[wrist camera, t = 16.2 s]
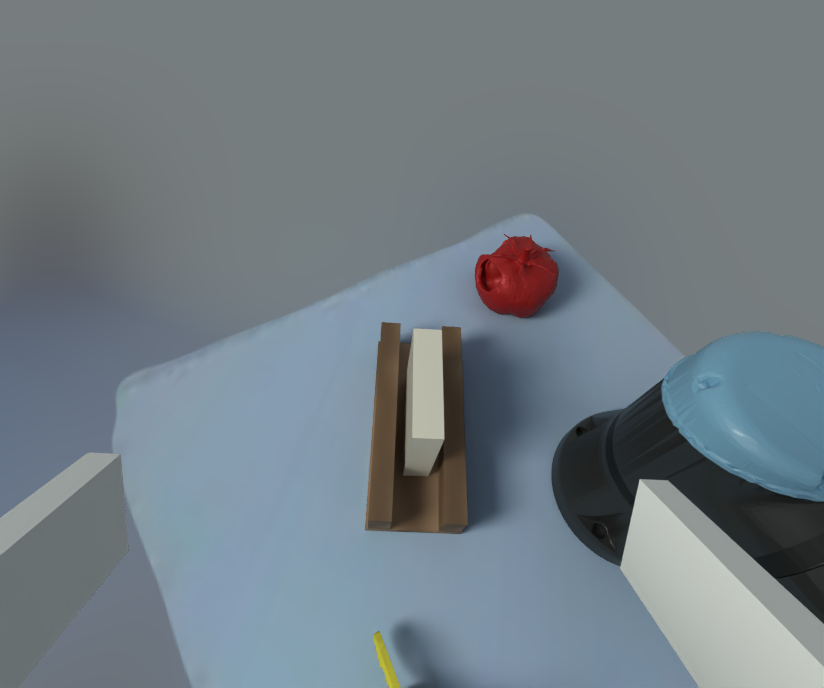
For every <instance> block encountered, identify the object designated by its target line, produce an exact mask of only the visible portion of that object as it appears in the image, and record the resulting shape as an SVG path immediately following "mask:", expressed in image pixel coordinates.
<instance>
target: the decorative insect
mask: <svg viewBox="0 0 824 688" xmlns="http://www.w3.org/2000/svg"><path fill="white" fill-rule="evenodd" d="M374 642H375V646H376V652H377V653H378V654H377V657H378V660H379V662H380V667H381V668H382V669H383V671H384V673H385V680H386V682H387V685H389V688H400V685H399V683H398V680H397V677H396V674H395V672H394V669H393V666H392V664H391V661H390V658H389V656H388V653H387V650H386V647H385V645H384V642H383V639H382V637H381V634H380V632H379V631H378V632H376V633H375V634H374Z"/></svg>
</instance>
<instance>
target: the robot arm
mask: <svg viewBox="0 0 824 688" xmlns="http://www.w3.org/2000/svg"><path fill="white" fill-rule="evenodd" d="M552 486H553V492H554V496H555V499H556V502H557V505H558V508H559V510H560V512H561V514H562V516H563V518H564V520H565V521H566V523H567V524H568V526H569V527H570V529H571V530H572V531H573V533H574V534H575V535H576V536H577V537H578V538H579V540H580V541H581V542H582V543H583V544H585V545H586V546H587V547H588V548H589V549H590V550H592V551H593V552H594V553H596V554H597V555H599V556H600V557H602V558H604V559H605V560H607V561H609V562H611V563H614V564H616V565H619V566H621V567H620V569H621V571H622V572H623V574H624V575H625V577H626V578H627V580H628V581H629V583H630V584H631V586H632V587H633V589H634V590H635V592H636V593H637V595H638V596H639V598H640V599H641V601H642V602H643V604H644V605H645V607H646V608H647V610H648V611H649V613H650V614H651V616H652V617H653V619H654V620H655V622H656V623H657V625H658V626H659V628H660V629H661V631H662V632H663V634H664V635H665V637H666V638H667V640H668V641H669V643H670V644H671V646H672V647H673V649H674V650H675V652H676V653H677V655H678V656H679V658H680V659H681V661H682V662H683V664H684V665H685V667H686V668H687V670H688V671H689V673H690V674H691V676H692V677H693V679H694V680H695V682H696V683H697V685H698V686H699V688H824V347H823V346H821V345H819V344H816V343H814V342H811V341H808V340H805V339H801V338H798V337H794V336H789V335H784V336H780V335H777V334H773V333H770V332H759V331H754V332H742V333H736V334H731V335H728V336H725V337H722V338H720V339H717V340H715V341H713V342H711V343H710V344H708V345H707V346H705V347H704V348H702V349H701V350H699V351H698V352H697V353H695V354H693V355H690V356H688V357H686V358H684V359H682V360H680V361H679V362H678V363H676V364H675V365H674V366H673V367H672V368H671V369H670V370H669V372H668V374H667V375H666V376H665V378H663V379H662V380H661V381H660V382H659V383H657V384H656V385H655V386H653V387H652V388H651V389H650V390H648V391H647V392H646V393H644V394H643V395H642V396H641V397H639V398H638V399H637V400H635V401H634V402H633V403H632V404H630V405H629V406H628V407H627V408H626V409H619V410H613V411H607V412H601V413H598V414H595V415H592V416H590V417H588V418H586V419H584V420H582V421H581V422H579V423H578V424H577V425H576V426H575V427H574V428H572V429H571V430H570V431H569V432H568V433H567V434H566V435H565V436H564V438H563V439H562V440H561V442H560V443H559V445H558V447H557V449H556V452H555V455H554V458H553V463H552ZM128 551H129V545H128V533H127V522H126V510H125V498H124V487H123V475H122V464H121V454H106V453H87V454H86V455H84V456H83V457H82V458H80V459H79V460H78V461H76V462H75V463H74V464H72V465H71V466H70V467H68V468H67V469H66V470H64V471H63V472H62V473H60V474H59V475H58V476H56V477H55V478H54V479H52V480H51V481H49V482H48V483H47V484H45V485H44V486H43V487H41V488H40V489H39V490H37V491H36V492H35V493H33V494H32V495H31V496H29V497H28V498H27V499H25V500H24V501H23V502H21V503H20V504H19V505H17V506H16V507H14V508H13V509H12V510H10V511H9V512H8V513H6V514H5V515H4V516H2V517H1V518H0V688H18V687H19V686H20V685H21V683H22V682H23V681H24V680H25V678H26V677H27V676H28V675H29V674H30V672H31V671H32V670H33V669H34V667H35V666H36V665H37V664H38V662H39V661H40V660H41V659H42V658H43V656H44V655H45V654H46V653H47V651H48V650H49V649H50V648H51V646H52V645H53V644H54V643H55V641H56V640H57V639H58V638H59V637H60V635H61V634H62V633H63V632H64V630H65V629H66V628H67V627H68V625H69V624H70V623H71V622H72V621H73V619H74V618H75V617H76V616H77V614H78V613H79V612H80V611H81V609H82V608H83V607H84V605H86V603H87V602H88V601H89V600H90V598H91V597H92V596H93V595H94V593H95V592H96V591H97V590H98V588H99V587H100V586H101V585H102V584H103V582H104V581H105V580H106V579H107V577H108V576H109V575H110V574H111V572H112V571H113V570H114V568H115V567H116V566H117V565H118V564H119V562H120V561H121V560H122V559H123V558H124V556H125V555H126V554H127V553H128Z"/></svg>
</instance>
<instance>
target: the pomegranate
mask: <svg viewBox="0 0 824 688" xmlns="http://www.w3.org/2000/svg"><path fill="white" fill-rule="evenodd" d="M504 235H505V234H504ZM505 236H506V235H505ZM506 237H508V236H506ZM508 238H509V239H508V240H505V241H504V242H503V244H502V245H501V246H500V247H499V248H498V249H497V250H496V251H495V252H494V253H492V254H491V255H488V254H487V255H481V256H480V257H479V259H478V262H477V264H476V267H475V280H476V288H477V291H478V294H479V296H480V298H481V299H482V301H483V303H484V304H485V305H486V306H487V307H488V308H489V309H490V310H492V311H494V312H496V313H498V314H512V315H514V316H517V317H519V318H523V317H530V316H532V315H533V314H535V313H536V312H537V311H538V310H539V309H540V307H541V306H542V305H543V304H544V303H545V302H546V300H547V299H549V298H550V297H551V295H552V294H553V292H554V291H555V288H556V285H557V280H558V273H559V271H558V266H557V264H556V262H554V261H553V260H552V259H551V257H550V255H549V254H548V253H547V252H546V251H553V250H550V249H548V248H544V249H543V248H542V247H540V246H539V245H537V244H536V243H535V242H534V241H533V240H532V237H531V235H530V238H529V237H525V236H523V237H516V236H514V237H511V238H510V237H508ZM554 251H555V250H554Z"/></svg>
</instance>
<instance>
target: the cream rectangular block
mask: <svg viewBox="0 0 824 688" xmlns="http://www.w3.org/2000/svg"><path fill="white" fill-rule="evenodd" d="M443 441H444V400H443V359H442V330H432V329H413V336H412V342H411V348H410V354H409V360H408V367H407V373H406V379H405V400H404V443H403V476H429V474H430V471H431V469H432V467H433V464H434V462H435V460H436V457H437V455H438V453H439V451H440V448H441V446H442V444H443Z"/></svg>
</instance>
